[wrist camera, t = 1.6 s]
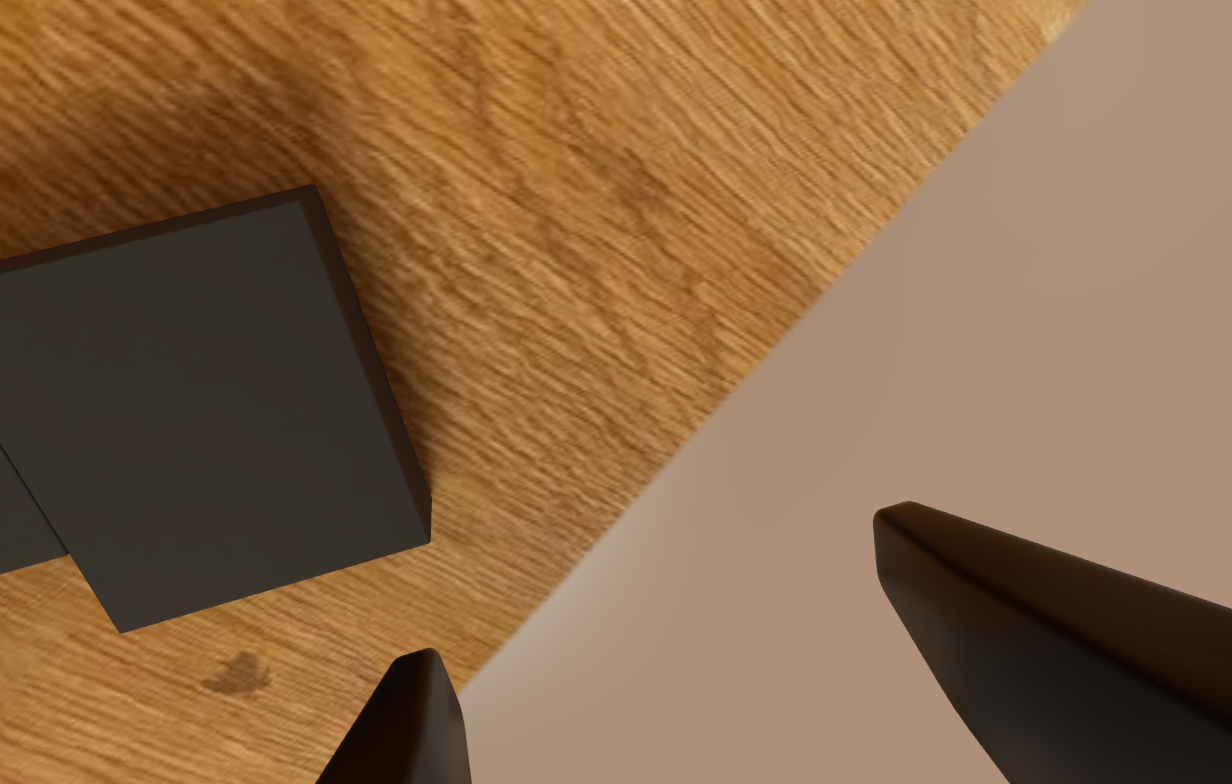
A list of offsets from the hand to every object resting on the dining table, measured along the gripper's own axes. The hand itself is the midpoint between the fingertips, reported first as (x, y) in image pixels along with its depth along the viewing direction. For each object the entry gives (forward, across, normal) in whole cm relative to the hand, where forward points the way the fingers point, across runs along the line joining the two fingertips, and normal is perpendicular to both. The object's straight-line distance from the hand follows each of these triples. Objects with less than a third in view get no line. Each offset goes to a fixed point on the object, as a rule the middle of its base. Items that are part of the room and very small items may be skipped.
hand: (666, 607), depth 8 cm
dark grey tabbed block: (+11, +9, 0) cm, 14 cm away
